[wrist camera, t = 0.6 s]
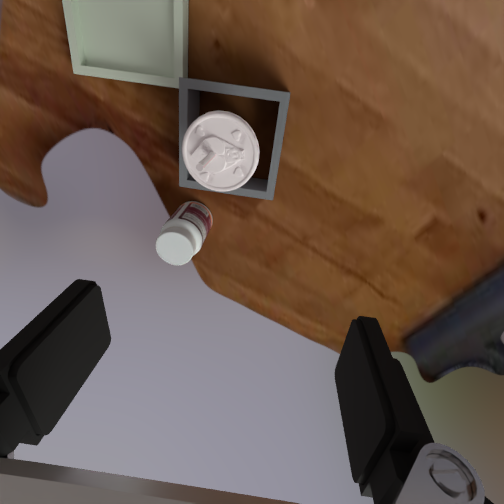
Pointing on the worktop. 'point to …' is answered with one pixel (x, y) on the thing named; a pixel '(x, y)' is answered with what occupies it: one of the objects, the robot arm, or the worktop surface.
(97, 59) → the tray
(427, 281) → the worktop surface
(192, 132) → the smoothie
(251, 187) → the grey square tube frame
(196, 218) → the pill bottle
